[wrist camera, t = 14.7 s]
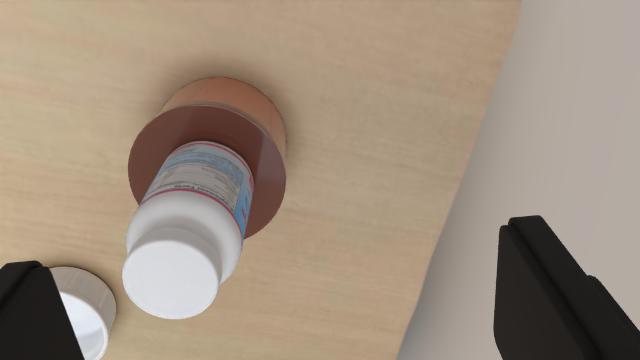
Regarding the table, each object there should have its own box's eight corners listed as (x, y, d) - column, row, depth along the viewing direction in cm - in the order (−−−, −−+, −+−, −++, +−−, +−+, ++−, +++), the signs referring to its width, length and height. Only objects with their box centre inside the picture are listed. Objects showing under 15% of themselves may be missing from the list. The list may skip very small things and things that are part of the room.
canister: (280, 68, 40) (275, 96, 33) (296, 192, 44) (294, 238, 38) (140, 81, 40) (109, 112, 34) (170, 204, 45) (148, 251, 38)
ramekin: (115, 259, 47) (98, 290, 43) (129, 338, 51) (114, 373, 47) (11, 259, 47) (-16, 290, 43) (33, 338, 51) (11, 373, 47)
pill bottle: (226, 233, 38) (196, 350, 28) (146, 191, 36) (84, 298, 26) (272, 167, 36) (257, 267, 26) (189, 119, 34) (138, 206, 24)
